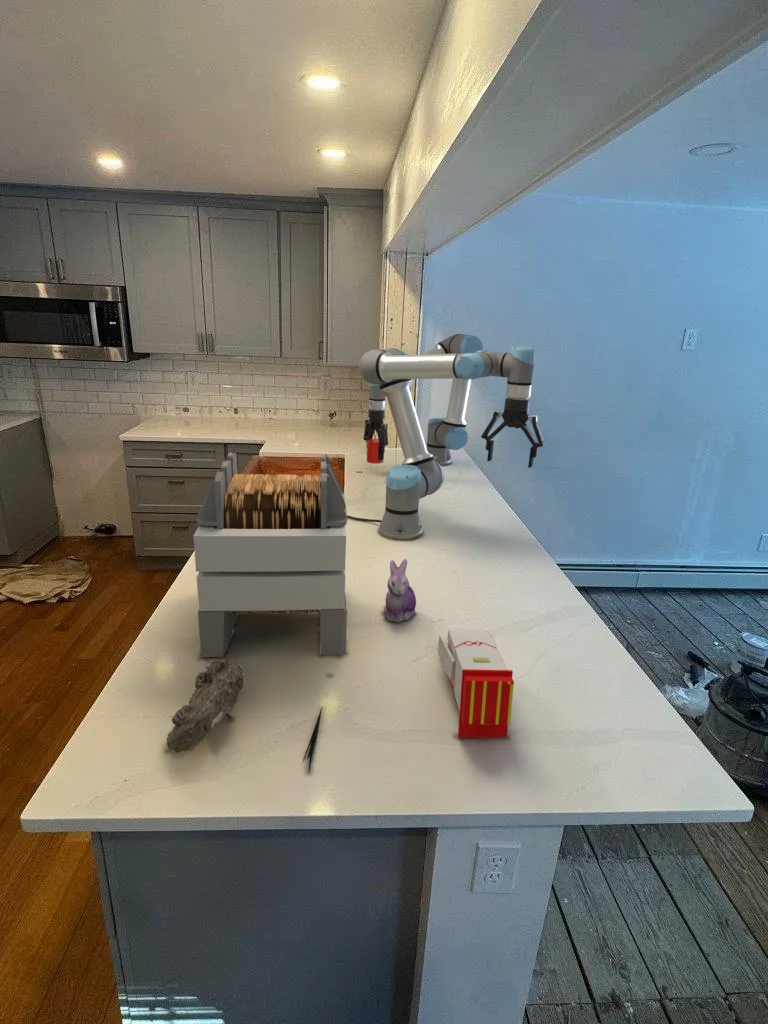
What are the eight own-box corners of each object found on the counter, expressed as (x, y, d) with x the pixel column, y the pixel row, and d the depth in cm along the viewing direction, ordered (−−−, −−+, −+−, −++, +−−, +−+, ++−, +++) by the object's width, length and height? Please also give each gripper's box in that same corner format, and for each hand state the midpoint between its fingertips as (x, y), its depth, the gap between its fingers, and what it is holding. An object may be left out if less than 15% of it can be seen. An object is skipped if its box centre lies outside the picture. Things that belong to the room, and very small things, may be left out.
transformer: (222, 587, 156) (213, 443, 143) (341, 586, 160) (343, 445, 146) (198, 659, 125) (184, 483, 111) (346, 655, 129) (350, 484, 115)
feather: (331, 679, 122) (336, 673, 122) (307, 777, 96) (313, 769, 95) (324, 675, 122) (329, 669, 121) (298, 772, 95) (304, 764, 95)
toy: (488, 613, 130) (523, 677, 101) (484, 667, 133) (517, 744, 104) (435, 612, 130) (455, 676, 101) (432, 666, 133) (451, 743, 103)
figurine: (392, 627, 141) (395, 572, 136) (374, 608, 149) (376, 556, 144) (425, 619, 145) (429, 566, 140) (405, 601, 154) (408, 550, 149)
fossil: (192, 660, 117) (244, 628, 112) (224, 691, 120) (276, 661, 115) (142, 746, 98) (202, 712, 93) (182, 779, 101) (242, 748, 96)
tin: (383, 463, 265) (384, 442, 261) (367, 463, 264) (367, 442, 261) (382, 459, 272) (383, 438, 269) (366, 459, 272) (367, 438, 268)
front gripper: (560, 401, 176) (550, 467, 183) (483, 392, 187) (476, 455, 194) (555, 404, 170) (545, 472, 177) (475, 395, 180) (469, 459, 188)
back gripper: (356, 406, 265) (355, 454, 273) (385, 413, 250) (383, 463, 258) (368, 405, 269) (367, 452, 277) (397, 412, 255) (395, 461, 263)
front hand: (509, 463), depth 185 cm, fingers open, 13 cm apart
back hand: (375, 457), depth 268 cm, fingers closed on tin, 8 cm apart
